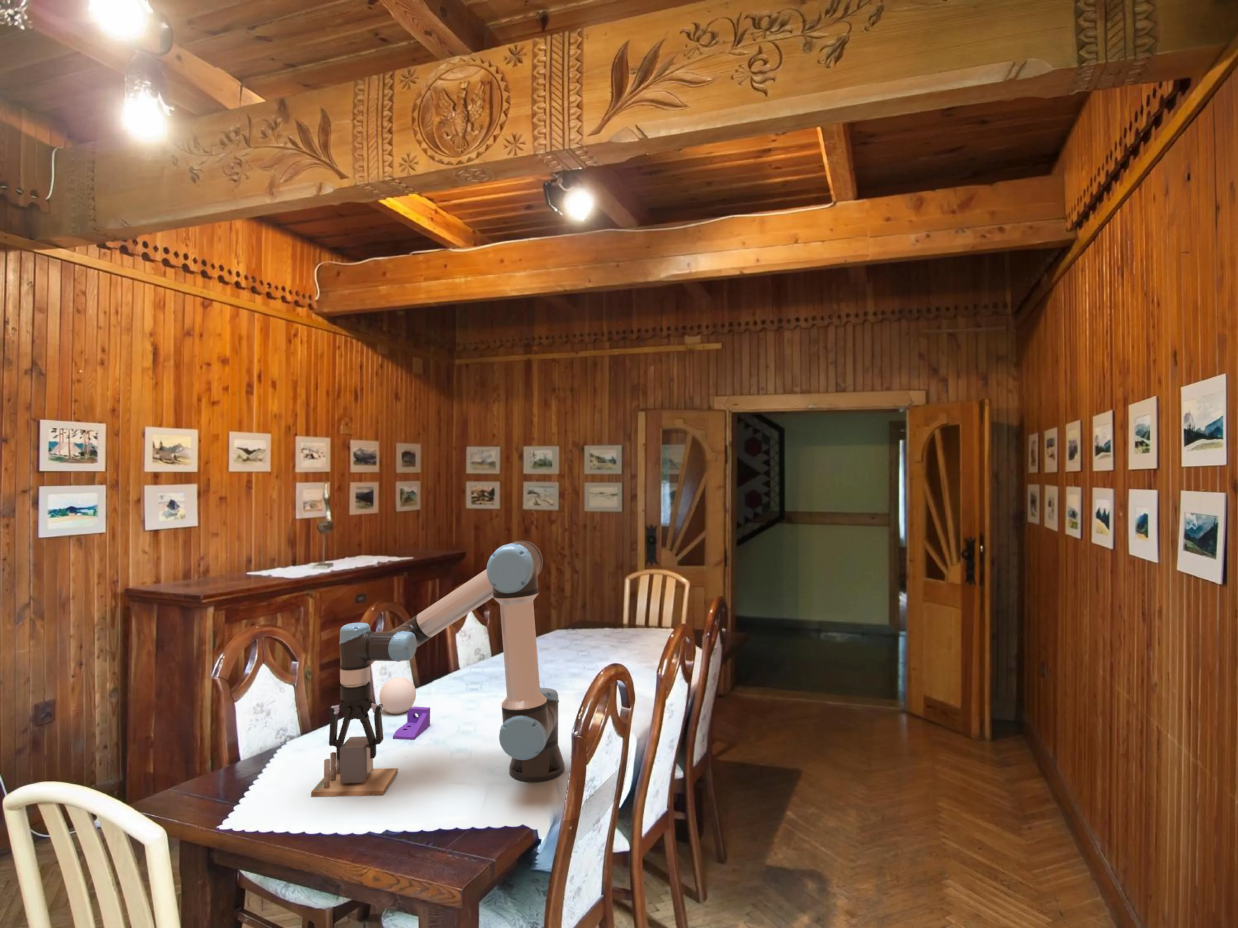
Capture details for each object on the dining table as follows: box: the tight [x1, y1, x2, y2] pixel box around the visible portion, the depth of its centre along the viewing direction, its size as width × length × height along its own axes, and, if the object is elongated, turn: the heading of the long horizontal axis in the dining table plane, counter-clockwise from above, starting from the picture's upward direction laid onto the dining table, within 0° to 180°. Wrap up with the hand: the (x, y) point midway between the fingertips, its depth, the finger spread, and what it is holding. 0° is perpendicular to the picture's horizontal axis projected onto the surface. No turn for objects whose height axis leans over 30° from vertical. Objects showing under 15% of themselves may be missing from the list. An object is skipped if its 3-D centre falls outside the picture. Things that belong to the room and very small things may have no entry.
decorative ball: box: [378, 677, 417, 715], centre depth 246 cm, size 12×12×12 cm
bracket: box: [392, 706, 431, 741], centre depth 226 cm, size 12×7×7 cm, turn 171°
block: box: [340, 735, 374, 783], centre depth 189 cm, size 6×8×9 cm
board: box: [310, 747, 399, 798], centre depth 189 cm, size 18×14×8 cm
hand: (356, 770), depth 189 cm, fingers closed on block, 6 cm apart
